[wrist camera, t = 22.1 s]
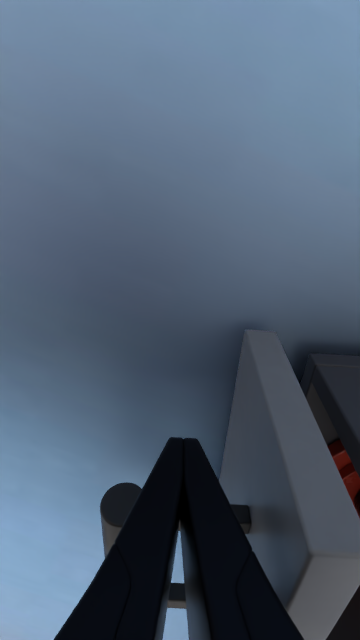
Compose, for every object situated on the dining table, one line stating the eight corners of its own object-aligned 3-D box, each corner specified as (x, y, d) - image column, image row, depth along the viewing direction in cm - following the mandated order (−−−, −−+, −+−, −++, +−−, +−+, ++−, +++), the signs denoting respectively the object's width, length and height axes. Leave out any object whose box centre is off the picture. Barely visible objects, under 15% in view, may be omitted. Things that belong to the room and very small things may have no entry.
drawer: (130, 523, 19) (97, 745, 12) (125, 321, 13) (49, 540, 6) (432, 539, 19) (571, 768, 12) (573, 347, 13) (1023, 592, 6)
